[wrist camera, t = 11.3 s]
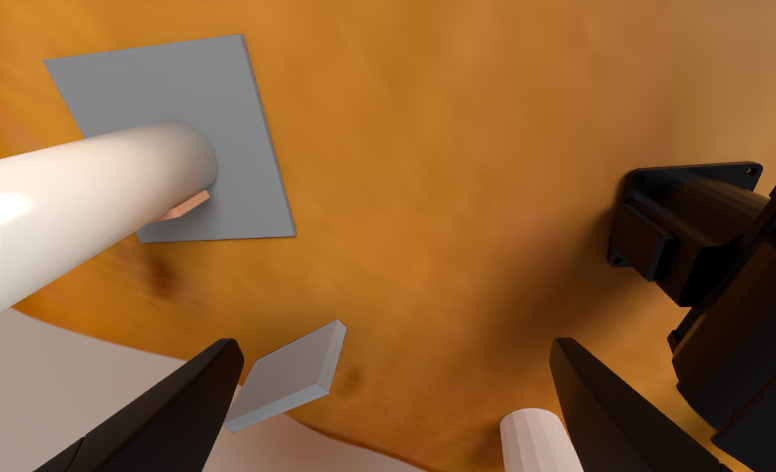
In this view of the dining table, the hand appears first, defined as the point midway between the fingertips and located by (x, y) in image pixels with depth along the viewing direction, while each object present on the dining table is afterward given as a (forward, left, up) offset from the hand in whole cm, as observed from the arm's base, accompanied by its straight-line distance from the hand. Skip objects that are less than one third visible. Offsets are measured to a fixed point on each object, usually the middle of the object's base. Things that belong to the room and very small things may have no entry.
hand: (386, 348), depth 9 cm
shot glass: (-10, +25, -13) cm, 30 cm away
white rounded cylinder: (+14, -3, -13) cm, 19 cm away
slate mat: (+14, -3, -13) cm, 19 cm away
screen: (+10, +14, -13) cm, 22 cm away
